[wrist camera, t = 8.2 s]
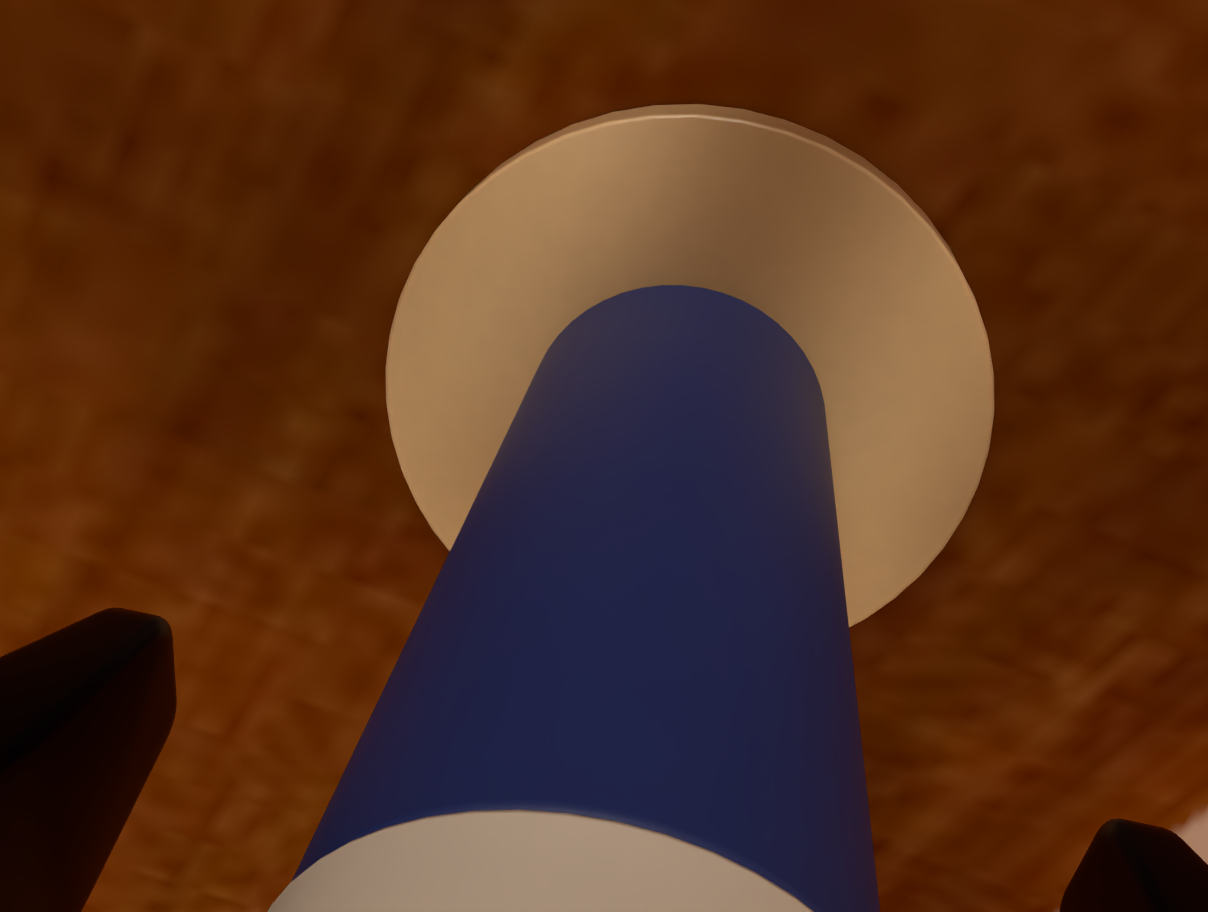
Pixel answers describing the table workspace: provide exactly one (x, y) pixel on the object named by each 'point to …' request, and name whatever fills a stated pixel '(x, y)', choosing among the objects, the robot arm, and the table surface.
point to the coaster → (721, 263)
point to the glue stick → (625, 651)
